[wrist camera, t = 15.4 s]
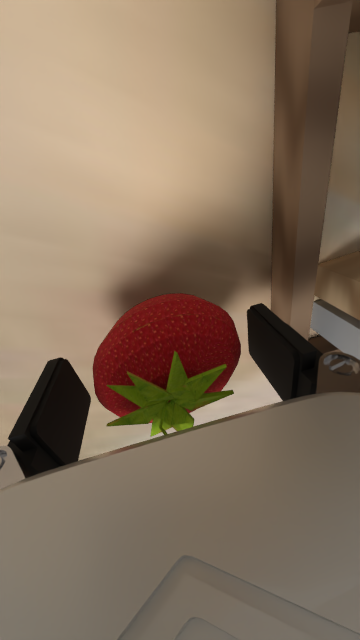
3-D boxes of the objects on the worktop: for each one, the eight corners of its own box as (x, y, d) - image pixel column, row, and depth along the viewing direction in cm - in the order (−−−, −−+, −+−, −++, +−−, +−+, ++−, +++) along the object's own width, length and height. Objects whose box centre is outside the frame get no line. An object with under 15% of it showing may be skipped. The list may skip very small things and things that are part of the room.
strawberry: (220, 313, 17) (311, 441, 8) (136, 361, 17) (138, 523, 9) (183, 244, 14) (265, 330, 5) (84, 305, 14) (10, 470, 6)
